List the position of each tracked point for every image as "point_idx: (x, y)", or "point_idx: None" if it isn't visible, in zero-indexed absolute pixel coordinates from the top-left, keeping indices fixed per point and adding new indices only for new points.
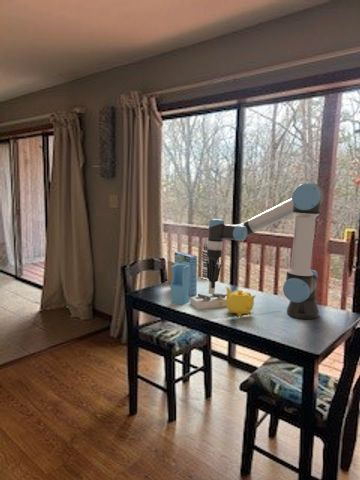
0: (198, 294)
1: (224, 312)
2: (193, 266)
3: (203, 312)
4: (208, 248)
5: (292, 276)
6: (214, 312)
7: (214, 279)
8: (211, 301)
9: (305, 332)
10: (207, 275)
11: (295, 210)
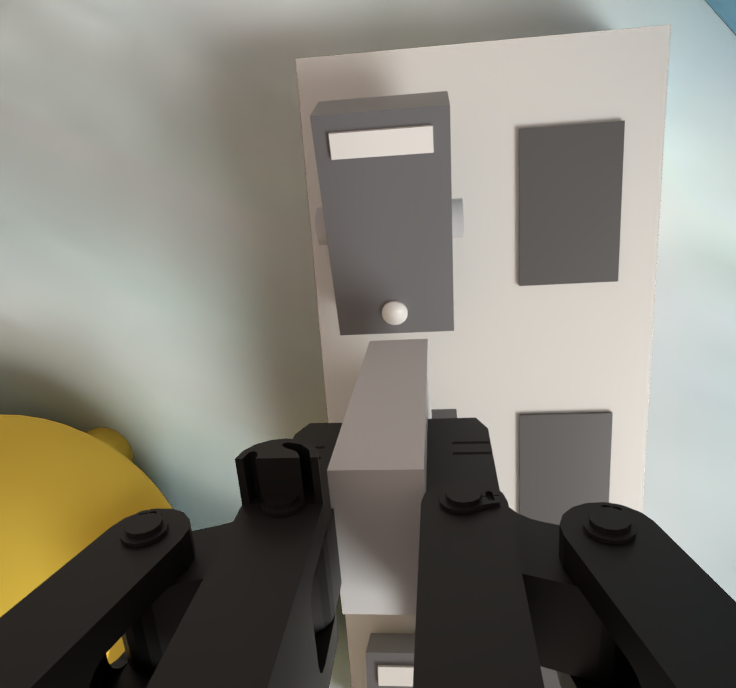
0: (435, 102)
1: (119, 379)
2: None
3: (165, 103)
4: None
5: None
6: (140, 256)
7: (77, 580)
8: (319, 318)
9: None
10: (675, 585)
11: None
